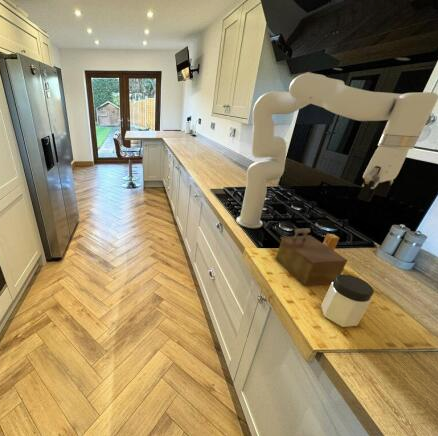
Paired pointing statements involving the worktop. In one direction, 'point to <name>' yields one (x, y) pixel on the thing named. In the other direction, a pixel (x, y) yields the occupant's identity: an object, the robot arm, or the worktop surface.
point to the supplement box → (331, 241)
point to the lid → (312, 248)
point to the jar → (347, 300)
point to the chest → (307, 267)
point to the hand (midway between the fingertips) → (371, 197)
